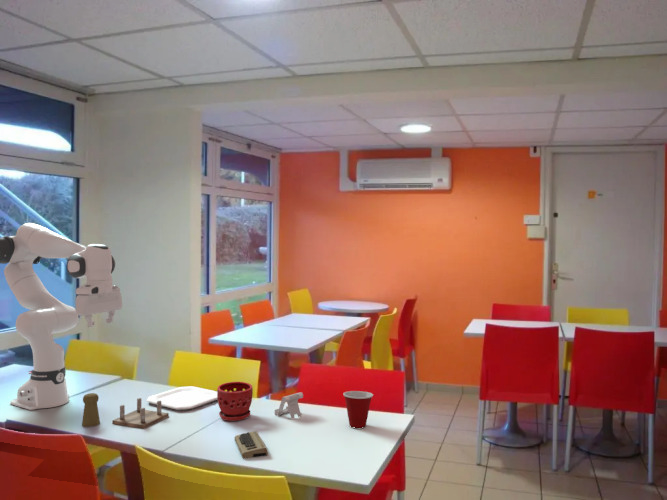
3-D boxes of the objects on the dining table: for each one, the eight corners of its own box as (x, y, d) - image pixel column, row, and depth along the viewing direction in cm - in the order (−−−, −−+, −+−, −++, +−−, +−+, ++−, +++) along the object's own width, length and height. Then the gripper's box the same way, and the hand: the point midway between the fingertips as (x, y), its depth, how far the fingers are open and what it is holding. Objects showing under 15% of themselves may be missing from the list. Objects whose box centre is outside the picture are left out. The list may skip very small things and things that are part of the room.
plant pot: (210, 417, 211) (210, 386, 210) (238, 409, 220) (238, 379, 220) (231, 426, 202) (231, 393, 201) (259, 417, 211) (259, 385, 211)
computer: (234, 442, 188) (234, 432, 187) (258, 439, 190) (258, 429, 190) (242, 460, 173) (242, 449, 173) (267, 457, 175) (267, 446, 175)
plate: (228, 398, 236) (228, 393, 235) (183, 415, 215) (183, 409, 215) (186, 389, 249) (186, 384, 249) (140, 404, 228) (140, 398, 228)
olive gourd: (93, 427, 200) (93, 396, 199) (78, 426, 201) (77, 395, 201) (103, 421, 206) (103, 392, 205) (88, 420, 207) (88, 391, 206)
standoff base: (112, 423, 204) (112, 406, 203) (138, 412, 217) (138, 396, 217) (143, 428, 199) (143, 411, 199) (168, 416, 212) (168, 400, 212)
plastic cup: (376, 422, 206) (376, 390, 205) (368, 432, 195) (368, 398, 195) (348, 419, 209) (348, 387, 209) (338, 429, 199) (339, 395, 199)
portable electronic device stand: (291, 410, 220) (291, 389, 219) (305, 415, 214) (305, 393, 214) (274, 415, 214) (274, 393, 213) (287, 420, 208) (287, 398, 208)
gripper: (112, 285, 220) (113, 320, 220) (72, 290, 200) (72, 328, 201) (125, 285, 217) (126, 320, 218) (85, 290, 198) (86, 329, 199)
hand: (100, 324), depth 209 cm, fingers open, 8 cm apart
